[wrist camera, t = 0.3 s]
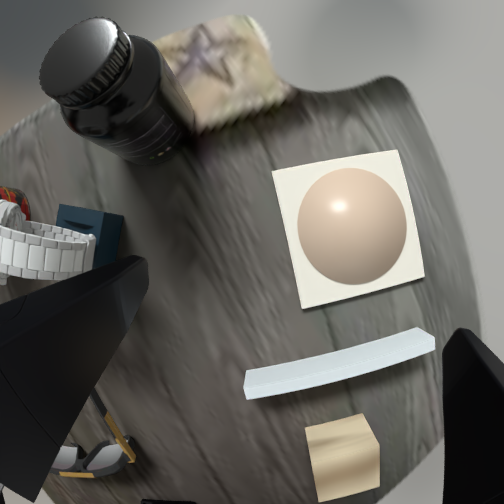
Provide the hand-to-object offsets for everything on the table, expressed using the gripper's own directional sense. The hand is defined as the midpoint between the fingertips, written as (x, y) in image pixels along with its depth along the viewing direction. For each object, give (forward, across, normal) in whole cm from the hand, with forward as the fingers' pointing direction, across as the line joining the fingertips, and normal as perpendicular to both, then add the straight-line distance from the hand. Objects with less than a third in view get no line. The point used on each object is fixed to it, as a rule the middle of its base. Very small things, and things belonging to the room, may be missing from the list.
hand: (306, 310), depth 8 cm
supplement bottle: (+16, +13, -1) cm, 21 cm away
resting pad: (+15, -4, +3) cm, 16 cm away
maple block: (+7, -7, +20) cm, 22 cm away
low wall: (+10, -5, +12) cm, 17 cm away
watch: (+11, +16, +8) cm, 21 cm away
